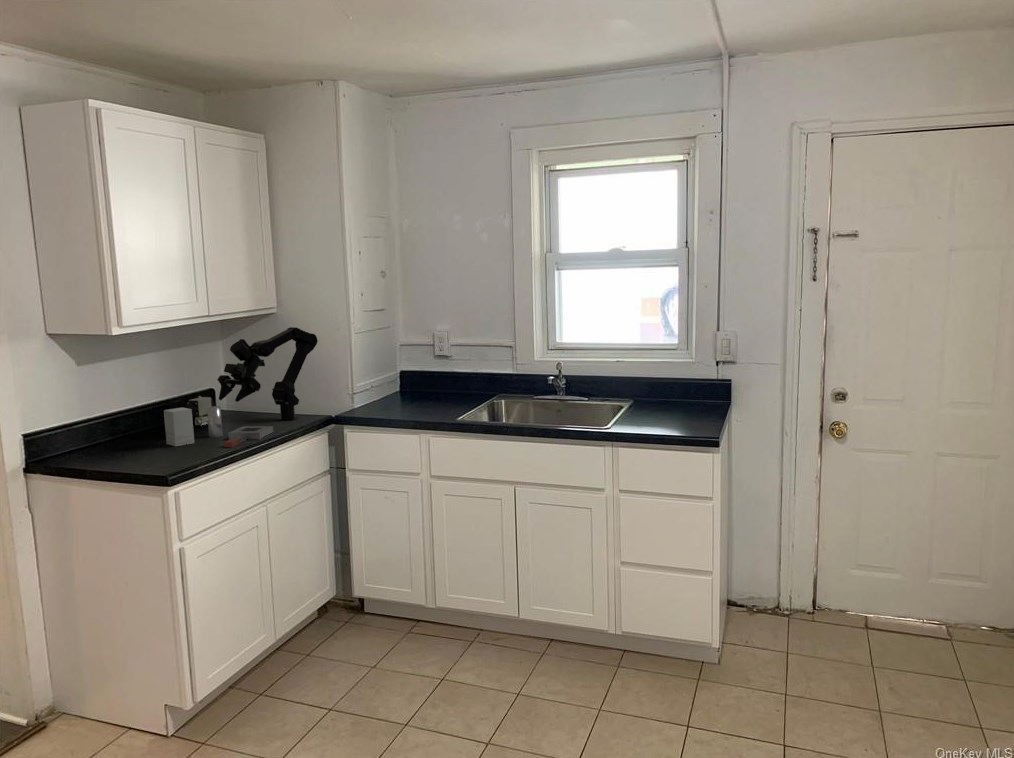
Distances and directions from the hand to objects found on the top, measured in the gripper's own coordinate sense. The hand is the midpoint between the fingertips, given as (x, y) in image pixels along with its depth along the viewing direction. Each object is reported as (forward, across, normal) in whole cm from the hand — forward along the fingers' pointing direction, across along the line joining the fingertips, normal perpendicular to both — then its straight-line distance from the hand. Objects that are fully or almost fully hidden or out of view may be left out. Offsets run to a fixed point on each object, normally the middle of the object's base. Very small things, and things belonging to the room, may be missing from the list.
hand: (227, 400), depth 300 cm
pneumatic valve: (+5, -24, +13) cm, 28 cm away
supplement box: (+24, -1, -6) cm, 25 cm away
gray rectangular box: (+14, +15, +4) cm, 21 cm away
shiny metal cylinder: (+14, 0, +4) cm, 14 cm away
